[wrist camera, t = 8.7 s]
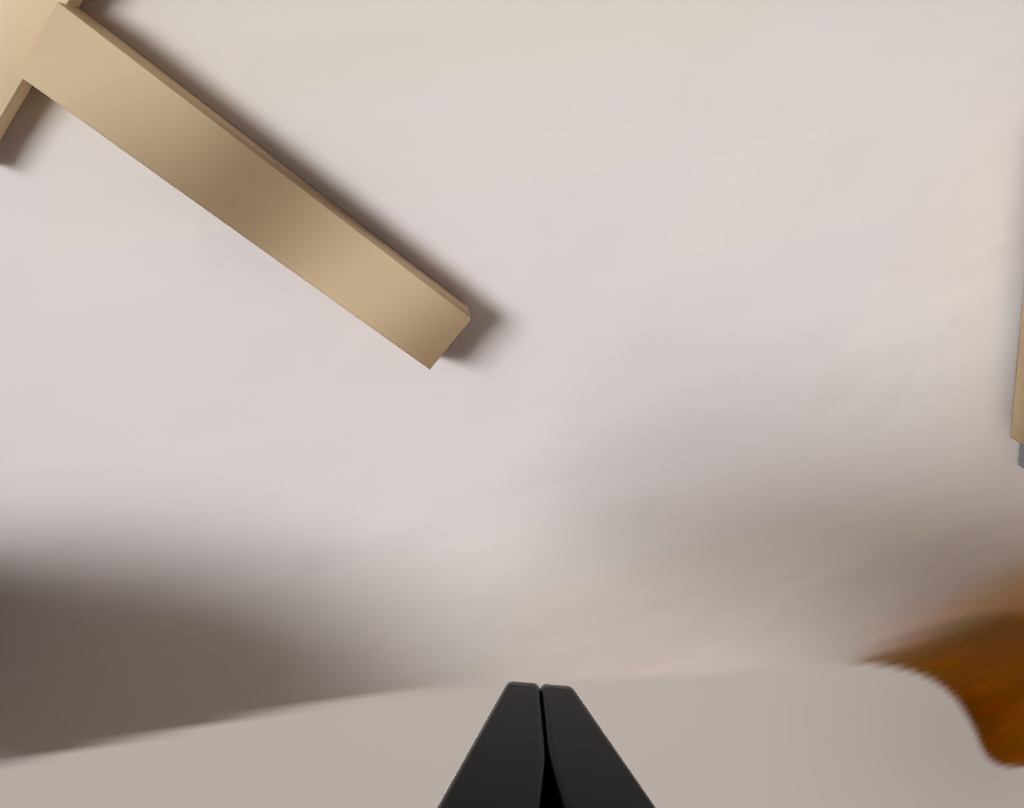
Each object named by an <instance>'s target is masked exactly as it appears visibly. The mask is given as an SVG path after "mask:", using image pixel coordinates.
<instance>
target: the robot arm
mask: <svg viewBox="0 0 1024 808" xmlns="http://www.w3.org/2000/svg"><path fill="white" fill-rule="evenodd" d="M438 808H655V807H654V805H653V804H652V802H651V801H650V799H649V798H648V796H647V795H646V793H645V792H644V790H643V789H642V788H641V786H640V785H639V783H638V782H637V780H636V779H635V778H634V776H633V775H632V773H631V772H630V770H629V769H628V767H627V766H626V764H625V763H624V762H623V760H622V759H621V757H620V756H619V754H618V753H617V751H616V750H615V749H614V747H613V746H612V744H611V743H610V741H609V740H608V738H607V737H606V736H605V735H604V733H603V731H602V730H601V728H600V727H599V726H598V724H597V723H596V721H595V720H594V718H593V717H592V715H591V714H590V712H589V711H588V710H587V708H586V707H585V705H584V704H583V702H582V701H581V700H580V698H579V697H578V695H577V694H576V692H575V691H574V690H573V689H572V688H571V687H569V686H561V685H549V684H544V685H542V686H541V688H539V686H538V685H537V684H535V683H524V682H509V683H508V684H507V685H506V687H505V688H504V690H503V692H502V694H501V696H500V697H499V699H498V701H497V703H496V704H495V706H494V708H493V710H492V712H491V713H490V715H489V717H488V719H487V720H486V722H485V724H484V726H483V728H482V729H481V731H480V733H479V735H478V737H477V738H476V740H475V742H474V744H473V746H472V747H471V749H470V751H469V753H468V754H467V756H466V758H465V760H464V762H463V763H462V765H461V767H460V769H459V770H458V772H457V774H456V776H455V778H454V779H453V781H452V783H451V785H450V787H449V789H448V790H447V792H446V794H445V795H444V797H443V799H442V801H441V803H440V804H439V806H438Z"/></svg>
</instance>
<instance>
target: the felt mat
mask: <svg viewBox="0 0 1024 808" xmlns="http://www.w3.org/2000/svg"><path fill="white" fill-rule="evenodd" d="M1019 466H1021V467H1022V468H1024V445H1023V444H1021V448H1020V458H1019Z"/></svg>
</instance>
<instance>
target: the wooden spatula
mask: <svg viewBox="0 0 1024 808" xmlns="http://www.w3.org/2000/svg"><path fill="white" fill-rule="evenodd" d="M82 2H83V0H0V140H1V138H2V137H3V135H4V133H5V132H6V130H7V128H8V127H9V125H10V123H11V122H12V120H13V118H14V117H15V115H16V113H17V111H18V110H19V108H20V106H21V105H22V103H23V101H24V100H25V98H26V96H27V95H28V93H29V91H30V89H31V88H32V86H34V87H35V88H37V89H38V90H40V91H41V92H42V93H44V94H45V95H47V96H48V97H49V98H51V99H52V100H54V101H55V102H56V103H58V104H59V105H61V106H62V107H63V108H65V109H66V110H67V111H69V112H70V113H72V114H73V115H74V116H76V117H77V118H79V119H80V120H81V121H83V122H84V123H86V124H87V125H88V126H90V127H91V128H93V129H94V130H95V131H97V132H98V133H100V134H101V135H102V136H104V137H105V138H107V139H108V140H109V141H111V142H112V143H114V144H115V145H116V146H118V147H119V148H121V149H122V150H123V151H125V152H126V153H128V154H129V155H130V156H132V157H133V158H135V159H136V160H137V161H139V162H140V163H142V164H143V165H144V166H146V167H147V168H149V169H150V170H151V171H153V172H154V173H156V174H157V175H158V176H160V177H161V178H163V179H164V180H165V181H167V182H168V183H170V184H171V185H172V186H174V187H175V188H177V189H178V190H179V191H181V192H182V193H184V194H185V195H186V196H188V197H189V198H191V199H192V200H193V201H195V202H196V203H198V204H199V205H200V206H202V207H203V208H205V209H206V210H207V211H209V212H210V213H212V214H213V215H214V216H216V217H217V218H219V219H220V220H221V221H223V222H224V223H226V224H227V225H228V226H230V227H231V228H233V229H234V230H235V231H237V232H238V233H240V234H241V235H242V236H244V237H245V238H247V239H248V240H249V241H251V242H252V243H254V244H255V245H256V246H258V247H259V248H261V249H262V250H263V251H265V252H266V253H268V254H269V255H270V256H272V257H273V258H275V259H276V260H277V261H279V262H280V263H282V264H283V265H284V266H286V267H287V268H289V269H290V270H291V271H293V272H294V273H296V274H297V275H298V276H300V277H301V278H303V279H304V280H305V281H307V282H308V283H310V284H311V285H312V286H314V287H315V288H317V289H318V290H319V291H321V292H322V293H324V294H325V295H326V296H328V297H329V298H331V299H332V300H333V301H335V302H336V303H338V304H339V305H340V306H342V307H343V308H345V309H346V310H347V311H349V312H350V313H352V314H353V315H354V316H356V317H357V318H359V319H360V320H361V321H363V322H364V323H366V324H367V325H368V326H370V327H371V328H373V329H374V330H375V331H377V332H378V333H380V334H381V335H382V336H384V337H385V338H387V339H388V340H389V341H391V342H392V343H394V344H395V345H396V346H398V347H399V348H401V349H402V350H403V351H405V352H406V353H408V354H409V355H410V356H412V357H413V358H415V359H416V360H417V361H419V362H420V363H422V364H423V365H424V366H426V367H427V368H429V369H431V367H432V366H433V365H434V364H435V362H436V361H437V360H438V359H439V358H440V356H441V355H442V354H443V353H444V352H445V350H446V349H447V348H448V347H449V346H450V344H451V343H452V342H453V341H454V340H455V338H456V337H457V336H458V335H459V334H460V332H461V331H462V330H463V329H464V327H465V326H466V325H467V324H468V323H469V321H470V320H471V316H470V312H469V309H468V307H467V306H466V305H464V304H463V303H462V302H460V301H459V300H458V299H457V298H455V297H454V296H453V295H451V294H450V293H449V292H447V291H446V290H445V289H444V288H442V287H441V286H440V285H438V284H437V283H436V282H435V281H433V280H432V279H431V278H429V277H428V276H427V275H425V274H424V273H423V272H422V271H420V270H419V269H418V268H416V267H415V266H414V265H412V264H411V263H410V262H409V261H407V260H406V259H405V258H403V257H402V256H401V255H400V254H398V253H397V252H396V251H394V250H393V249H392V248H390V247H389V246H388V245H387V244H385V243H384V242H383V241H381V240H380V239H379V238H377V237H376V236H375V235H374V234H372V233H371V232H370V231H368V230H367V229H366V228H365V227H363V226H362V225H361V224H359V223H358V222H357V221H355V220H354V219H353V218H352V217H350V216H349V215H348V214H346V213H345V212H344V211H342V210H341V209H340V208H339V207H337V206H336V205H335V204H333V203H332V202H331V201H330V200H328V199H327V198H326V197H324V196H323V195H322V194H320V193H319V192H318V191H317V190H315V189H314V188H313V187H311V186H310V185H309V184H307V183H306V182H305V181H304V180H302V179H301V178H300V177H298V176H297V175H296V174H295V173H293V172H292V171H291V170H289V169H288V168H287V167H285V166H284V165H283V164H282V163H280V162H279V161H278V160H276V159H275V158H274V157H273V156H271V155H270V154H269V153H267V152H266V151H265V150H263V149H262V148H261V147H260V146H258V145H257V144H256V143H254V142H253V141H252V140H250V139H249V138H248V137H247V136H245V135H244V134H243V133H241V132H240V131H239V130H238V129H236V128H235V127H234V126H232V125H231V124H230V123H228V122H227V121H226V120H225V119H223V118H222V117H221V116H219V115H218V114H217V113H215V112H214V111H213V110H212V109H210V108H209V107H208V106H206V105H205V104H204V103H203V102H201V101H200V100H199V99H197V98H196V97H195V96H193V95H192V94H191V93H190V92H188V91H187V90H186V89H184V88H183V87H182V86H180V85H179V84H178V83H177V82H175V81H174V80H173V79H171V78H170V77H169V76H168V75H166V74H165V73H164V72H162V71H161V70H160V69H158V68H157V67H156V66H155V65H153V64H152V63H151V62H149V61H148V60H147V59H145V58H144V57H143V56H142V55H140V54H139V53H138V52H136V51H135V50H134V49H133V48H131V47H130V46H129V45H127V44H126V43H125V42H123V41H122V40H121V39H120V38H118V37H117V36H116V35H114V34H113V33H112V32H110V31H109V30H108V29H107V28H105V27H104V26H103V25H101V24H100V23H99V22H98V21H96V20H95V19H94V18H92V17H91V16H90V15H88V14H87V13H86V12H85V11H83V10H82V9H81V8H79V7H80V5H81V3H82Z"/></svg>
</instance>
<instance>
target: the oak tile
mask: <svg viewBox="0 0 1024 808" xmlns="http://www.w3.org/2000/svg"><path fill="white" fill-rule="evenodd" d="M1011 438H1013V439H1015V440H1016V441H1018V442H1020V443H1021V444H1023V445H1024V299H1023V310H1022V320H1021V331H1020V342H1019V352H1018V363H1017V373H1016V384H1015V395H1014V405H1013V416H1012V427H1011Z"/></svg>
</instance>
